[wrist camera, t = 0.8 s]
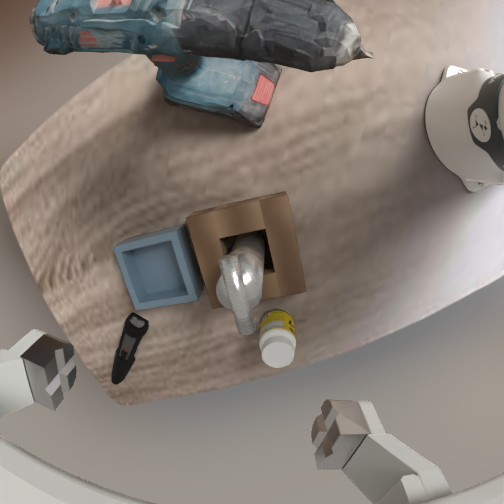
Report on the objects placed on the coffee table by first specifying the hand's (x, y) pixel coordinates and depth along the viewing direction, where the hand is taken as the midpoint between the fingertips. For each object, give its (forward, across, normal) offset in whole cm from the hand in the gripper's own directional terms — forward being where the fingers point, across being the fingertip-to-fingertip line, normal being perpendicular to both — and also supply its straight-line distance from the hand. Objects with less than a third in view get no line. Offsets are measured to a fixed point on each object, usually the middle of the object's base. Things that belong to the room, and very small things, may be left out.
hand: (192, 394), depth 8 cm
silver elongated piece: (+32, -2, +3) cm, 32 cm away
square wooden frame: (+32, -2, +3) cm, 32 cm away
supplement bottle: (+32, -8, +13) cm, 35 cm away
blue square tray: (+32, +9, +8) cm, 35 cm away
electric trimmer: (+34, +14, +25) cm, 44 cm away
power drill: (+31, +5, -17) cm, 36 cm away
